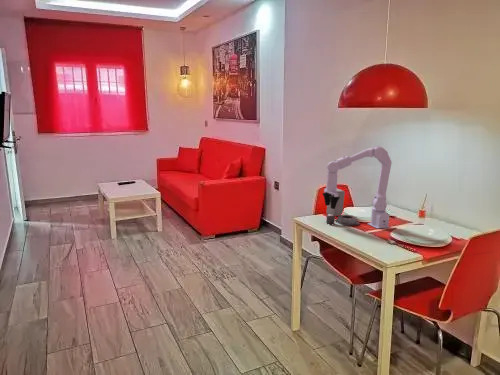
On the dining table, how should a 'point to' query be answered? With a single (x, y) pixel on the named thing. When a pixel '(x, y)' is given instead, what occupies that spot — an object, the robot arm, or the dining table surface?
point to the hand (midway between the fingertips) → (330, 206)
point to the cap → (330, 219)
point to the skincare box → (339, 205)
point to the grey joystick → (347, 220)
